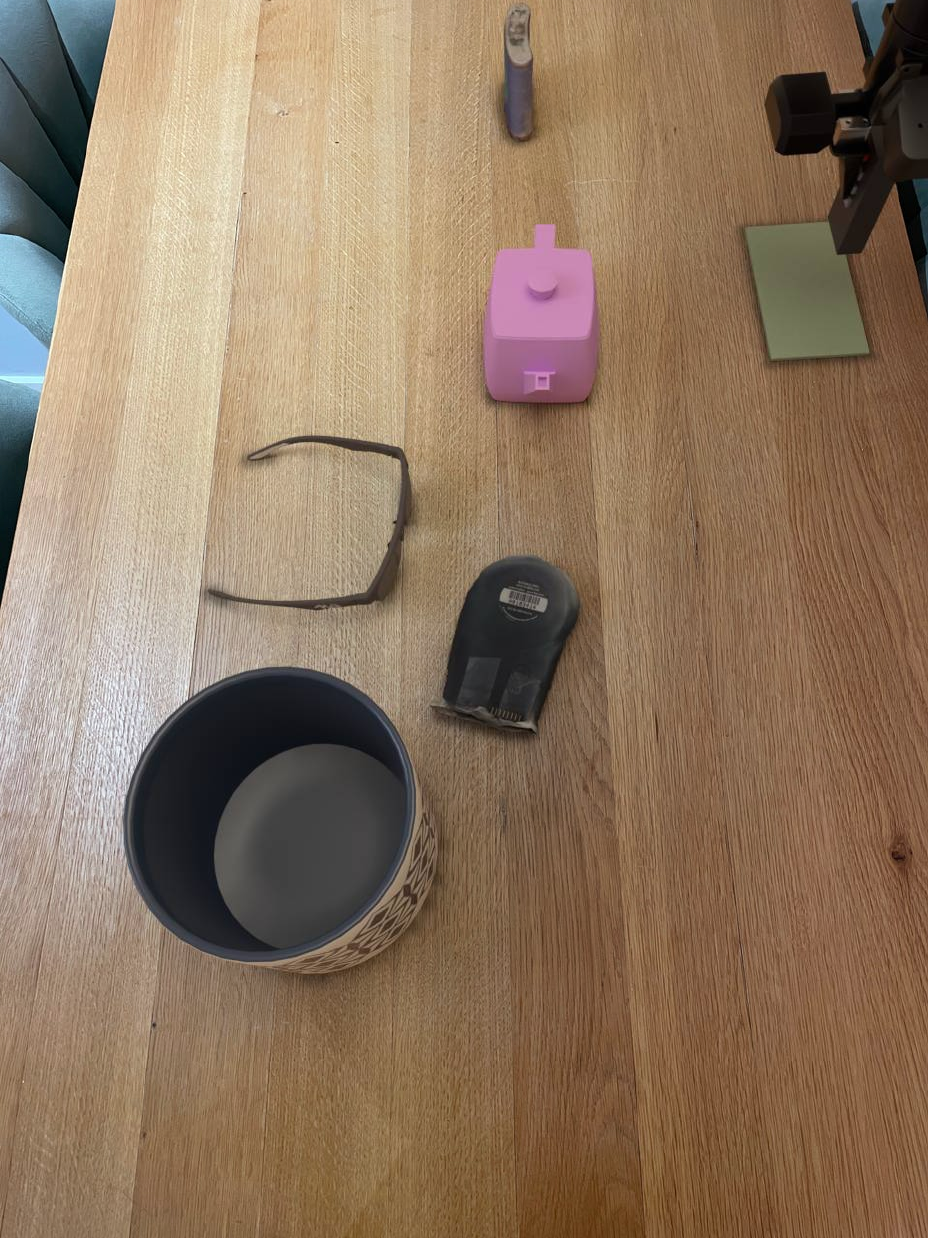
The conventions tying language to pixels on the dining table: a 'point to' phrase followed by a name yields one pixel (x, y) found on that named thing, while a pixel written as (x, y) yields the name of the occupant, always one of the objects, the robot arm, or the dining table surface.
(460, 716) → the electronic device
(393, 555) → the sunglasses
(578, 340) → the teapot
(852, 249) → the dark grey rectangular prism
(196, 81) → the dining table surface
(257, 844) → the planter
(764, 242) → the mat
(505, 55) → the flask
